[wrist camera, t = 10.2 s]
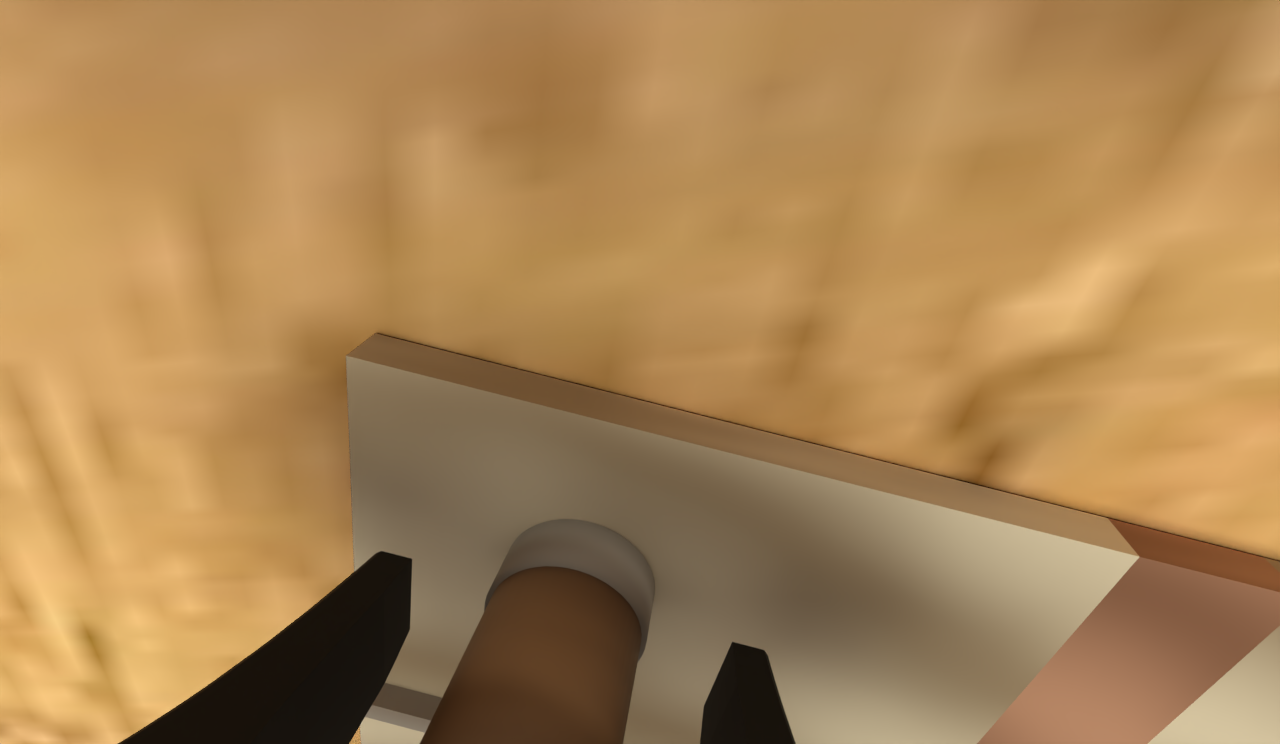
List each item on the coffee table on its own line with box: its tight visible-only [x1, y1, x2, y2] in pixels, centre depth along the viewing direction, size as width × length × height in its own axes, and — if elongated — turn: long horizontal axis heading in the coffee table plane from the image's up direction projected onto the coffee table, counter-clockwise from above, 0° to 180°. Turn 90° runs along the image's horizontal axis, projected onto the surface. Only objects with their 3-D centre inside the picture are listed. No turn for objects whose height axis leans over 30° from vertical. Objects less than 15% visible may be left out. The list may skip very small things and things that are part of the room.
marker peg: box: [420, 519, 655, 744], centre depth 10 cm, size 3×3×6 cm
